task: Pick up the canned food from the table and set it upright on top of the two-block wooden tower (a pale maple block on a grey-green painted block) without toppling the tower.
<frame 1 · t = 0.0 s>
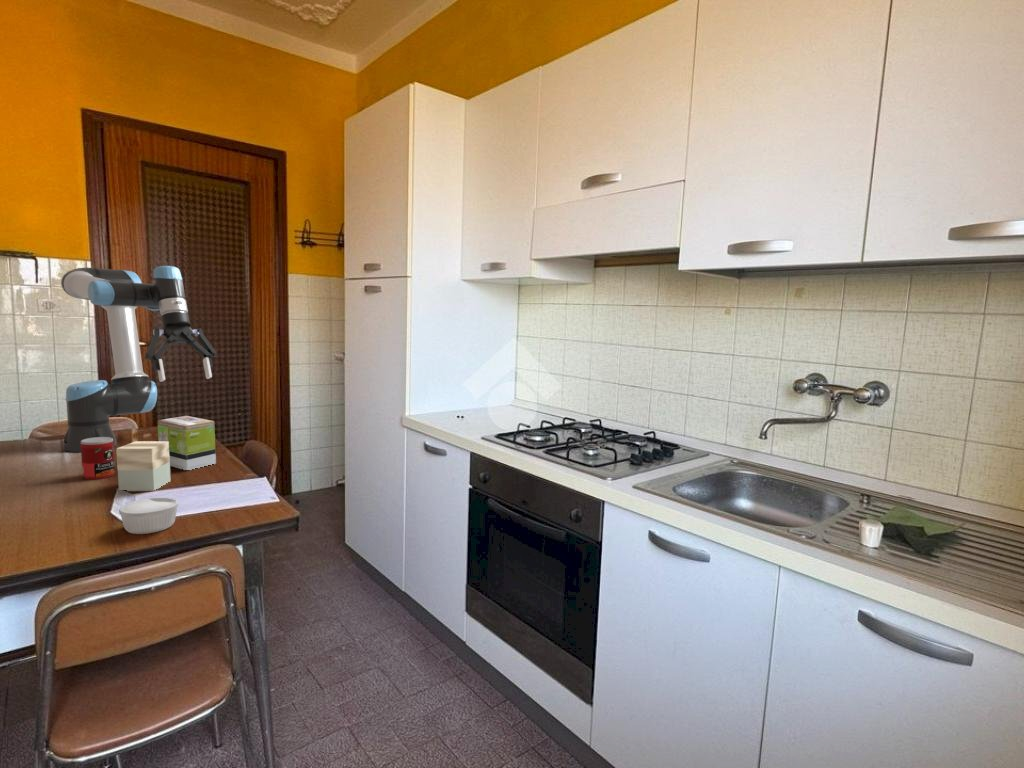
hand: (186, 379, 173), 28 cm above the table, tool tilted 20°, fingers open, 13 cm apart
ramekin: (150, 527, 126), on the table
tea box: (187, 465, 178), on the table
canned food: (99, 476, 163), on the table
top block: (144, 465, 154), point 6 cm above the table, touching lower block
lower block: (145, 486, 155), on the table, touching top block
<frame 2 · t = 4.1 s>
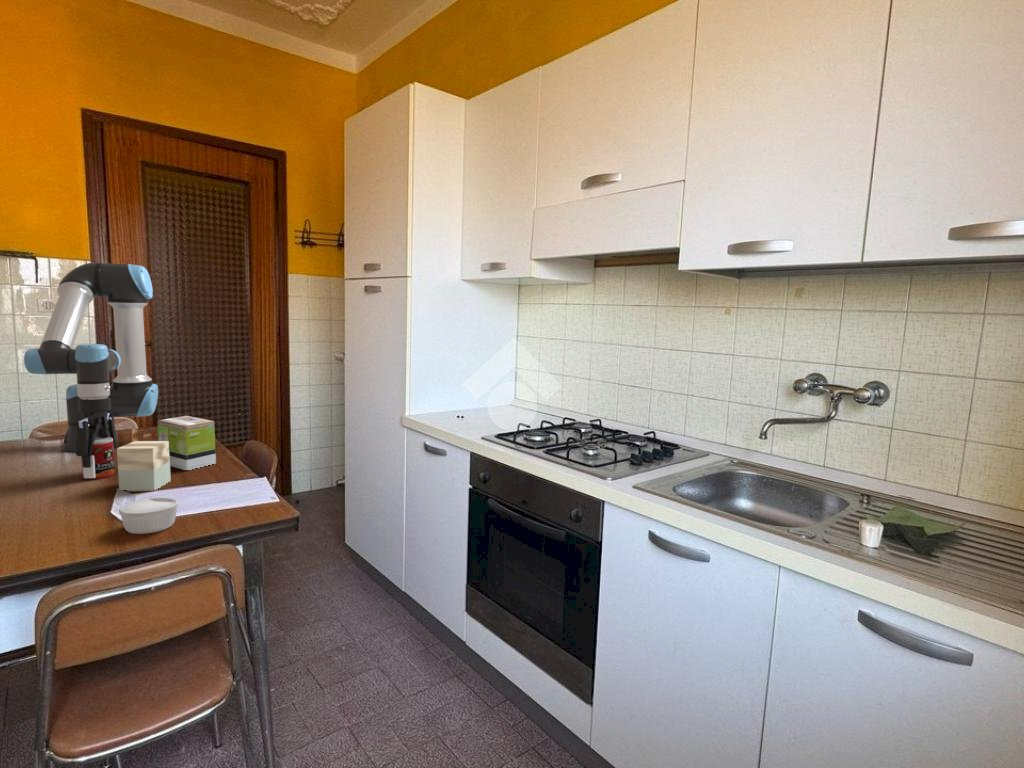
hand: (98, 473, 163), 1 cm above the table, tool pointing down, fingers closed on canned food, 8 cm apart
canned food: (99, 476, 163), on the table, touching gripper
everything else where it was.
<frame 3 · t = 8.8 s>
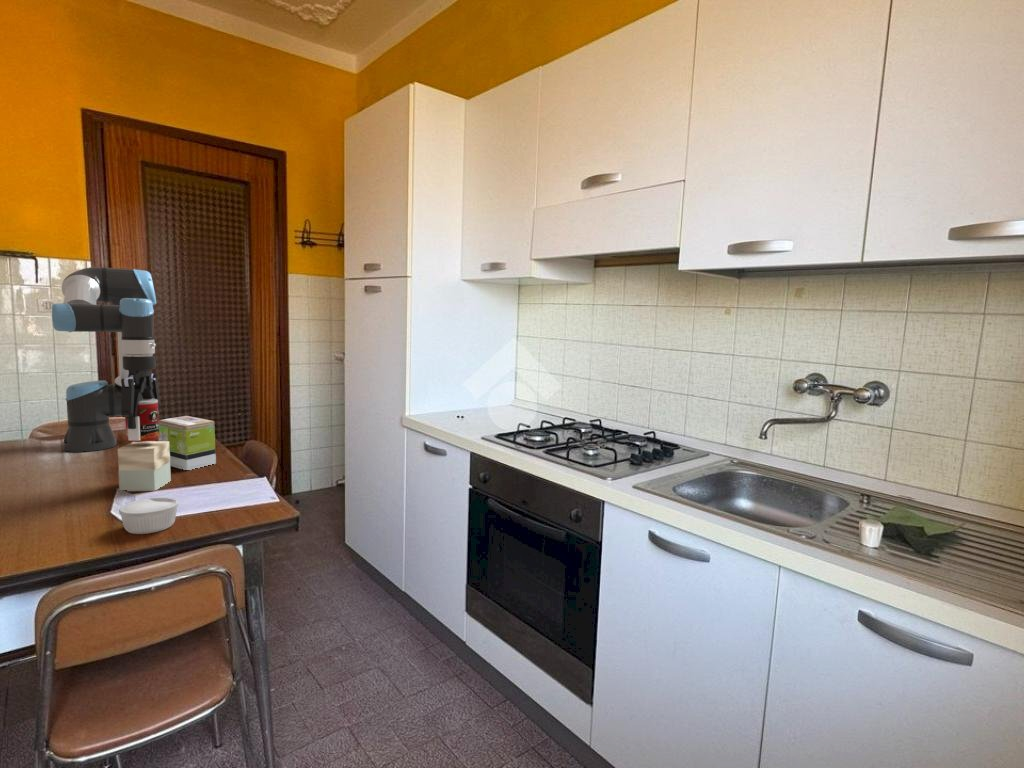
hand: (143, 436, 153), 14 cm above the table, tool pointing down, fingers closed on canned food, 8 cm apart
canned food: (143, 439, 153), point 13 cm above the table, touching gripper
everything else where it was.
when the fingers open (14 cm above the table, at t = 9.3 s): canned food drops 1 cm, resting on top block.
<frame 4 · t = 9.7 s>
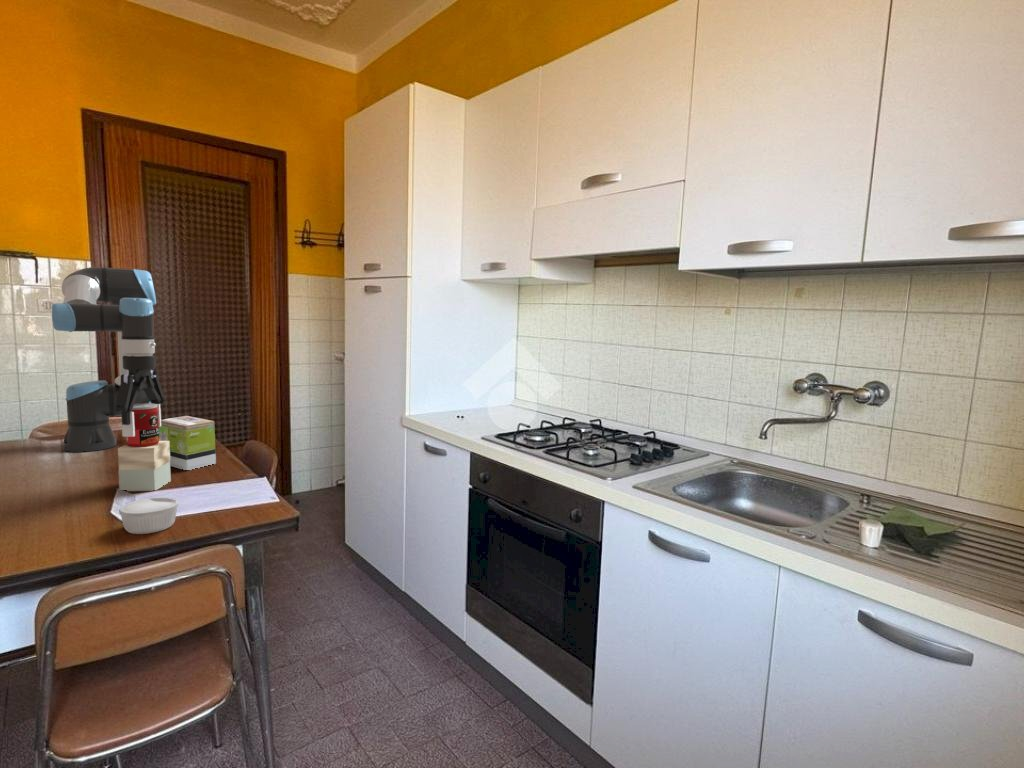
hand: (142, 431, 153), 16 cm above the table, tool pointing down, fingers open, 13 cm apart
canned food: (143, 444, 154), point 12 cm above the table, touching top block
top block: (145, 465, 154), point 6 cm above the table, touching canned food, lower block
everything else where it was.
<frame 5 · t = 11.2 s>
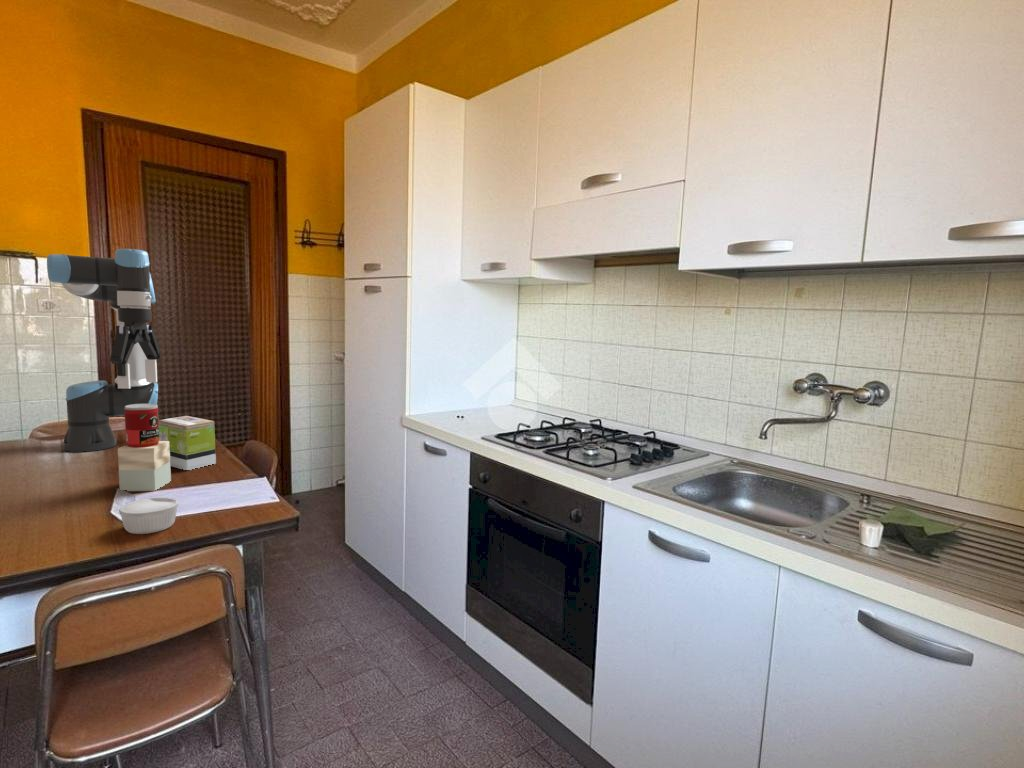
hand: (138, 385, 152), 29 cm above the table, tool pointing down, fingers open, 13 cm apart
nothing on the table moved.
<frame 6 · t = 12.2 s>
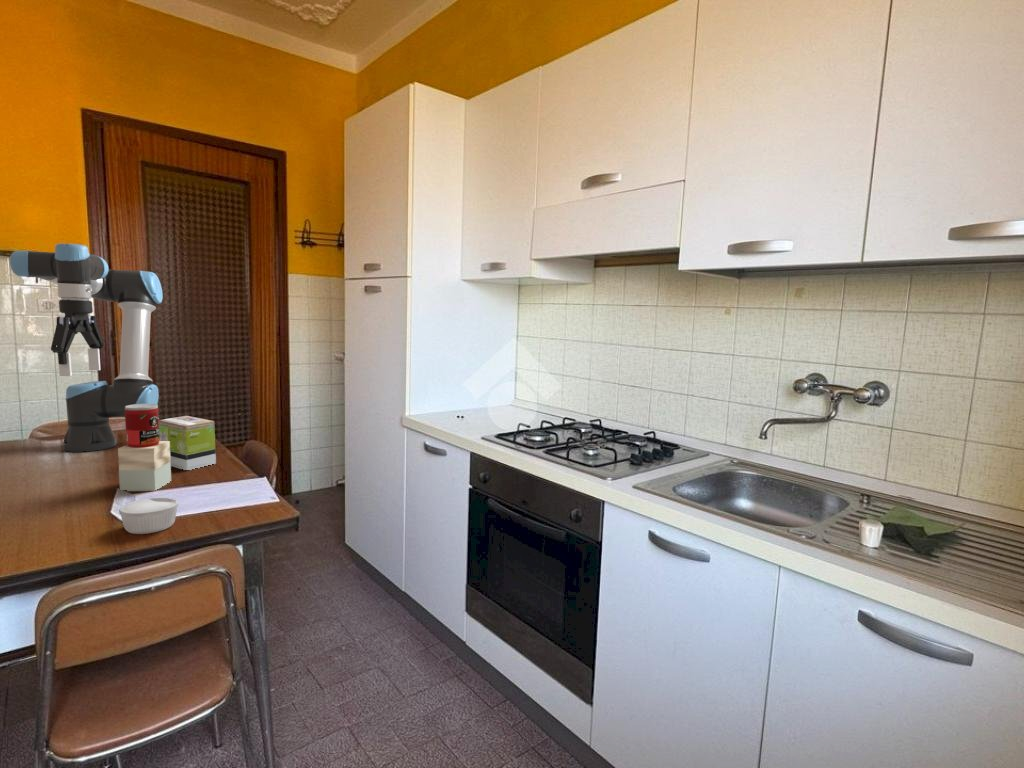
hand: (81, 373, 160), 30 cm above the table, tool pointing down, fingers open, 13 cm apart
nothing on the table moved.
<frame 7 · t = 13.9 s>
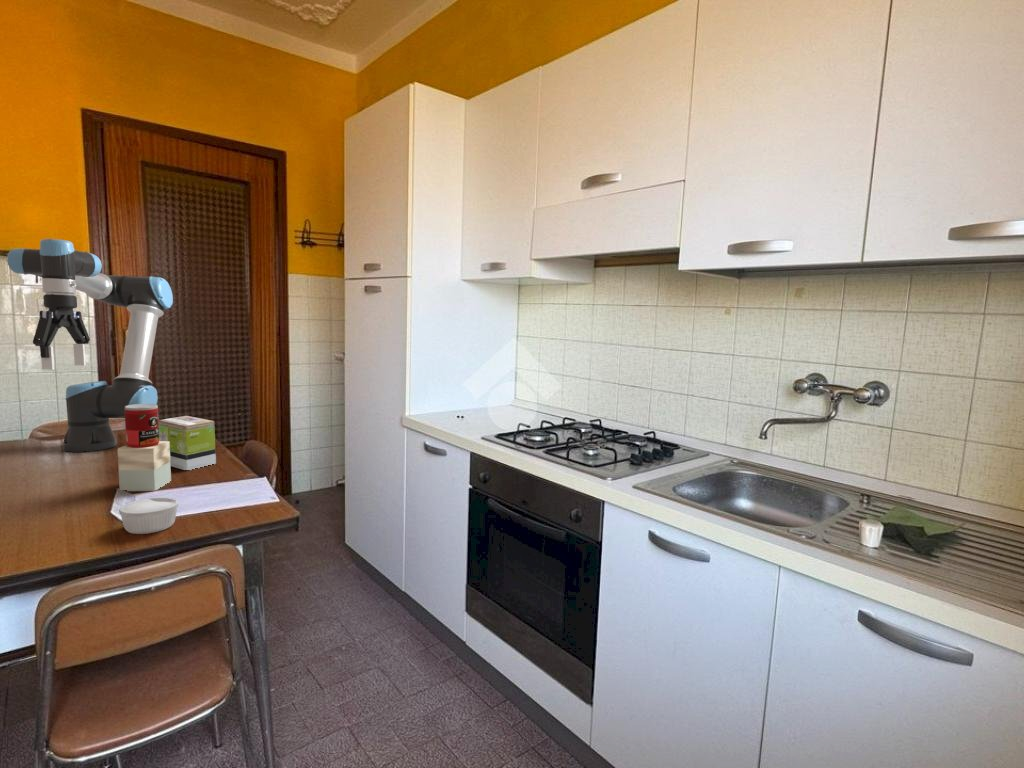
hand: (64, 367, 162), 32 cm above the table, tool pointing down, fingers open, 13 cm apart
nothing on the table moved.
at the end: canned food inside the target area on the top block (0.3 cm from its centre), point 5.8 cm above the top block's base; canned food tilted 0°; top block tilted 0° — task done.
